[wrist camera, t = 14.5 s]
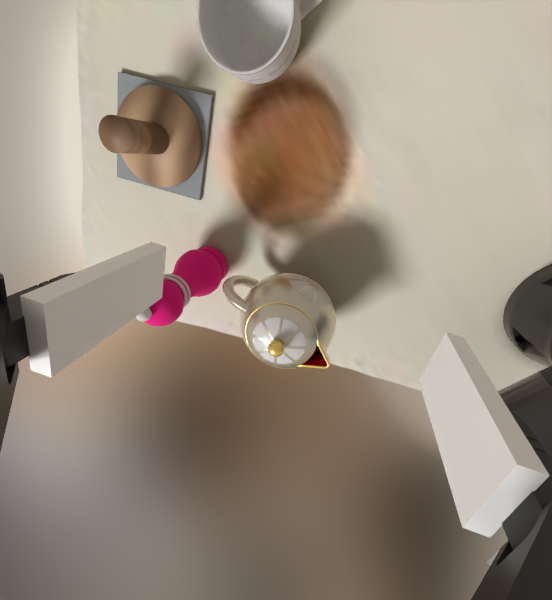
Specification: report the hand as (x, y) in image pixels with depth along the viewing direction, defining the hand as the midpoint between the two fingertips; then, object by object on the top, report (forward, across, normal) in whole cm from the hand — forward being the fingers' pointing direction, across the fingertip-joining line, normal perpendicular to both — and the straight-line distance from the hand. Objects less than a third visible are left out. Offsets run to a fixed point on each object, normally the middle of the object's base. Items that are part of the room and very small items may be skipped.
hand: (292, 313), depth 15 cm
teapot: (+35, +3, +15) cm, 38 cm away
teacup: (+35, +13, -18) cm, 41 cm away
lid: (+34, +27, -3) cm, 44 cm away
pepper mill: (+35, +17, +14) cm, 41 cm away
